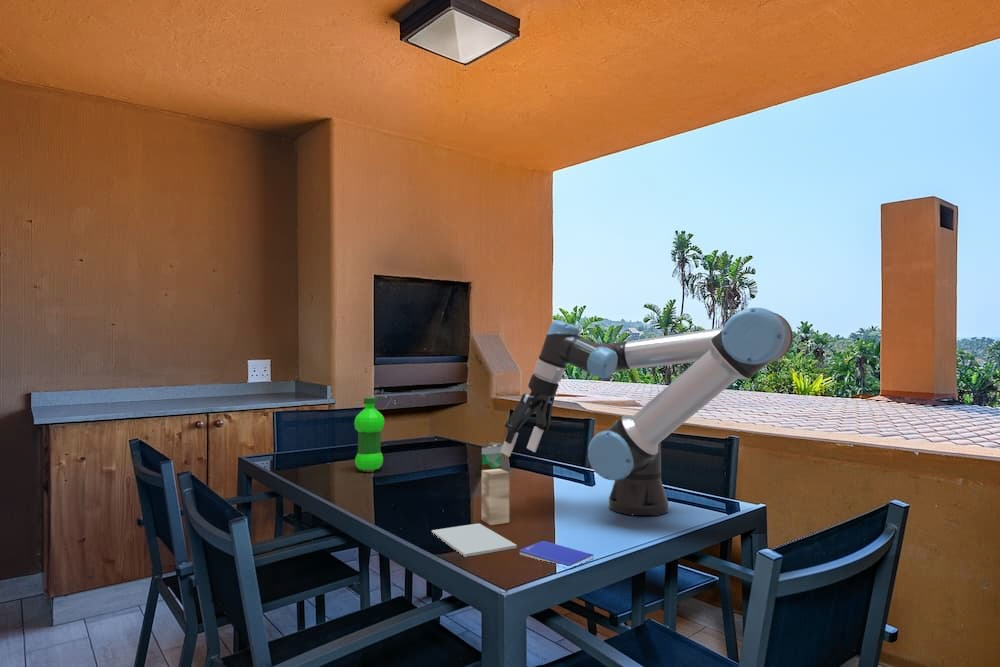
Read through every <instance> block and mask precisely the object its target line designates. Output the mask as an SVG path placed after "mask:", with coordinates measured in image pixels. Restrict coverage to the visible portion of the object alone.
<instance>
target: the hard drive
mask: <svg viewBox="0 0 1000 667" xmlns="http://www.w3.org/2000/svg"><path fill="white" fill-rule="evenodd" d="M519 555H520V556H523V557H526V558H529V557H530V559H533V558H534V560H536V559H537V561H540V560H542V561H541V562H543V561H547V562H552V563H557V564H563V565H566V566H572V565H574V564H576V563H579V562H581V561H583V560H586V559H589V558H591V557H593V556H595V555H594V554H593V553H588V552H585V551H583V550H579V549H578V550H577V549H574V548H571V547H568V546H564V545H559V544H556V543H553V542H549V541H545V540H542V541H540V542H539V541H538V542H535V543H534V544H531V545H528V546H525V547H524V548H521V549H520V550H519Z"/></svg>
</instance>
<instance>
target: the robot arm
mask: <svg viewBox="0 0 1000 667" xmlns="http://www.w3.org/2000/svg"><path fill="white" fill-rule="evenodd" d="M579 333H580V328H579V327H578V326H575V325H574V324H572V323H568V322H566V321H564V320H563V321H562V320H559V319H555V320H553V321H552V322H551V325H550V327H549V329H548V332H547V333H546V337H545V338H544V342H543V345H542V348H541V350H540V353H539V356H538V358H537V360H536V361H535V367H534V368H533V374H532V375H531V377H530V380H529V382H528V386H527V387H528V388H529V390H530V393H529V394H527V393H522V396H521V398H520V400H519V402H518V403H517V405H516V407H515V408H514V410H513V412H512V413H511V415H510V416H509V417H508V419H507V421H506V423H504V427H505V428H506V429H508V431H507V433H506V435H505V438H504V441H503V444H502V445H503V446H502V449H501V453H502V455H503V454H504V455H505V456H506V457H511V454H512V452H513V450H514V447H515V445H516V442H517V439H518V437H519V436H518V435H519V434H520V433H519V432H518V431H519V430H520V429H521V428H522V427H523V426H524V424H526V421H527V420H528V419H529V418H530V417H531V416H533V415H534V414H535V418H536V419H535V420H536V426H533V429H532V432H531V435H530V436H529V439H528V443H527V445H526V449H527V450H528V451H531V452H533V453H536V452H537V449H538V447H539V444H540V442H541V439H542V435H543V433H544V431H546V432H547V431H548V430H549V428H550V427H551V419H552V411H553V404H554V401H555V398H556V397H555V396H556V394H557V391H558V389H559V386H560V385H559V383H560V382H562V379H563V375H564V373H565V370H566V368H567V365H571V366H573V367H575V368H578V369H580V370H582V371H584V372H586V373H588V374H590V375H592V376H593V377H597V378H598V377H599V378H601V379H608V378H609V377H610V376H612V375H613V373H615V372H621V371H628V370H630V371H631V370H635V369H643V368H644V369H645V368H653V367H654V368H655V367H662V366H672V365H679V364H688V363H689V364H690V363H693V364H691V365H690V366H689V367H688V368H687V369H686V370H685V371H684V372H682V373H681V374H680V375H678V377H677V378H675V379H674V380H673V381H671V383H669V384H668V385H667V386H666V387H665V388H664V389H663V390H660V392H659V393H658V394H656V395H655V397H653V398H652V399H651V400H650V401H649V402H648V403H647V404H645V405H643V406H642V408H641V409H640V410H639V409H638V411H637V412H636V413H634V414H633V415H631V414H624V415H622V416H621V417H620V418H619V419H617V420H616V421H615V422H614V423H613V424H612V425H611V426H610V427H608V429H606V430H601V431H600V432H597V433H596V434H595V435H594V436H593V437H592V438H591V440H590V442H589V444H588V446H587V447H588V448H587V457H588V461H589V464H590V466H591V468H592V469H593V471H594V472H595V473H596V474H597V475H598V476H600V477H601V478H603V479H606V480H608V481H614V482H613V484H612V489H611V491H610V494H609V497H608V508H609V509H610V510H611V509H612V510H611V511H613V510H614V511H613V512H615V511H616V513H618V512H620V513H619V514H621V513H625V514H624V515H626V514H633V515H632V516H634V515H656V516H659V515H658V514H662V515H664V514H663V513H665V512H667V511H668V512H669V500H668V498H667V494H666V491H665V488H664V485H663V482H662V441H663V440H665V439H666V438H667V437H668V436H669V435H671V434H672V433H673V432H674V431H676V430H677V429H678V428H680V426H682V425H683V424H684V423H685V422H687V421H688V420H689V419H690V418H692V417H693V416H694V415H696V414H697V413H698V412H699V411H701V410H702V409H703V408H704V407H705V406H707V405H708V404H709V403H710V402H711V401H713V399H715V398H716V397H717V396H719V395H720V394H721V393H722V392H723V391H725V390H726V389H727V388H728V387H729V386H731V385H732V384H733V383H734V382H735V381H737V380H747V381H748V380H749V379H751V378H752V377H753V376H755V375H756V374H757V373H758V372H760V371H761V370H762V369H763V368H764V367H766V366H767V365H768V364H769V363H772V362H775V361H777V360H780V359H782V358H783V357H784V356H785V355H786V354H787V353H788V352H789V351H790V349H791V347H792V345H793V341H794V334H793V330H792V326H791V325H790V323H789V321H787V319H785V317H784V316H782V315H780V314H778V313H776V312H773V311H771V310H769V309H766V308H762V307H749V308H748V307H747V308H745V309H742V310H740V311H737V312H736V313H734V314H732V315H731V317H730V318H728V320H727V321H726V323H725V324H724V326H722V327H717V328H711V329H703V330H702V329H701V330H698V331H690V332H689V331H688V332H683V333H676V334H668V335H662V336H661V335H660V336H654V337H648V338H642V339H641V338H640V339H635V340H627V341H619V342H613V343H606V342H605V343H603V342H602V343H601V342H594V341H591V340H589V339H587V338H584V337H583V336H579ZM668 512H667V513H668ZM665 514H666V513H665Z"/></svg>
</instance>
